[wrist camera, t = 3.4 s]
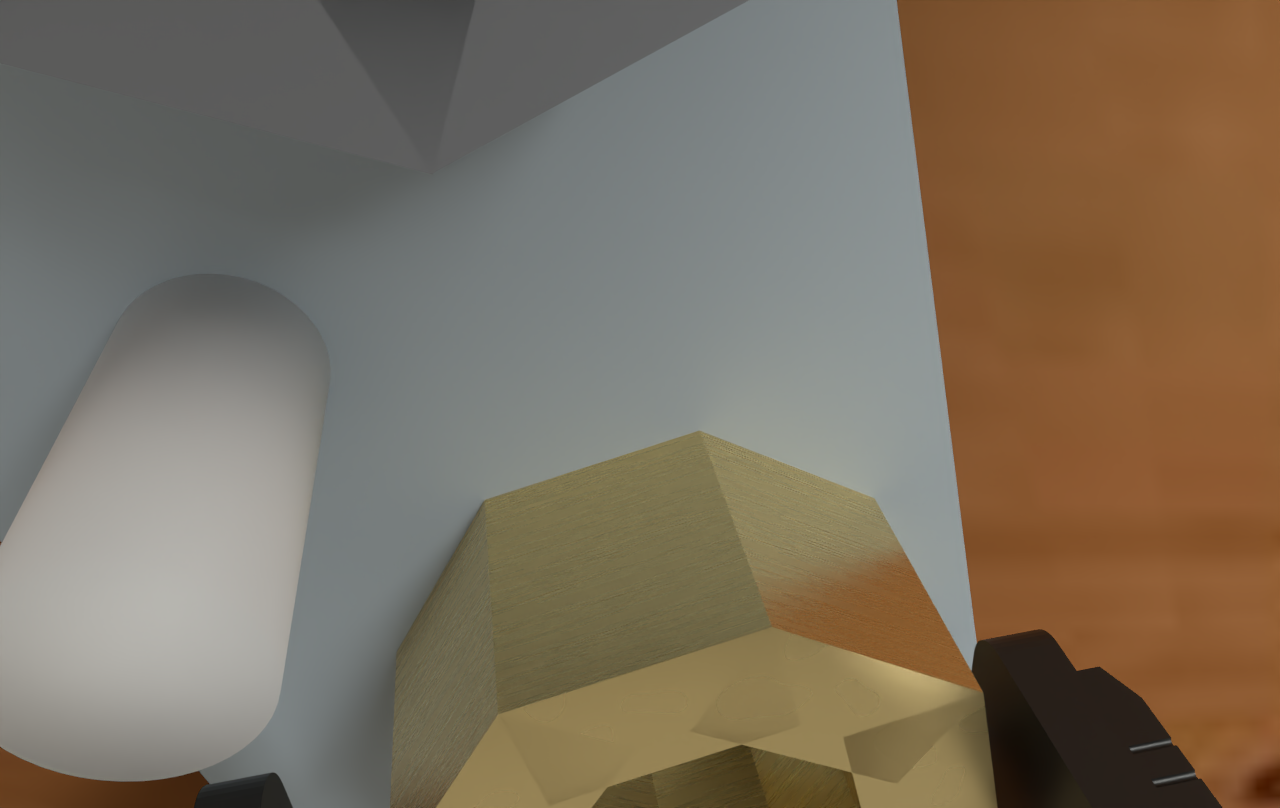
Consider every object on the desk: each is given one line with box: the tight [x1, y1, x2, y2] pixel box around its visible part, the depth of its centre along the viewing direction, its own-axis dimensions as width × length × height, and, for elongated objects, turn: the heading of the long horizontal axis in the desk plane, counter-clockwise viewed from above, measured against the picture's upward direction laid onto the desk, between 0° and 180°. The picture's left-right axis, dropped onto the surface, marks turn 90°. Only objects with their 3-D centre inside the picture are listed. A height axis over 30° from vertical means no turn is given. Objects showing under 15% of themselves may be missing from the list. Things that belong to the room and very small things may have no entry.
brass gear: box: [390, 430, 998, 808], centre depth 12 cm, size 6×6×3 cm
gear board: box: [0, 0, 977, 808], centre depth 9 cm, size 10×18×6 cm, turn 16°
